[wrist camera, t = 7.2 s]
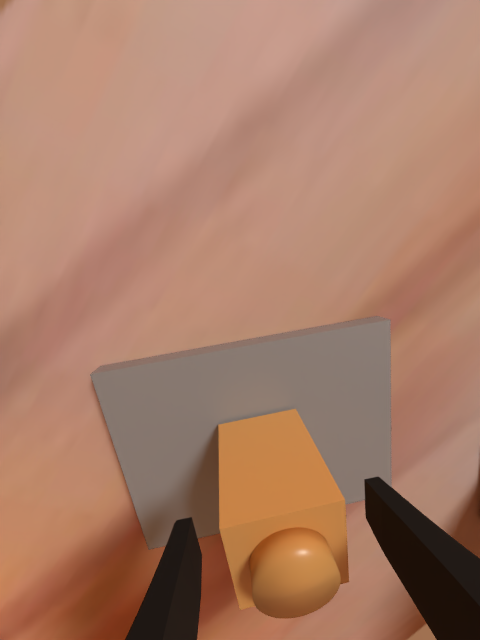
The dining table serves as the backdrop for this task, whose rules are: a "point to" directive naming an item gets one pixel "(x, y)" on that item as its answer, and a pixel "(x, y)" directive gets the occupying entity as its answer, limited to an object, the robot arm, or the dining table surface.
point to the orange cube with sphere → (280, 516)
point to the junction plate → (246, 414)
